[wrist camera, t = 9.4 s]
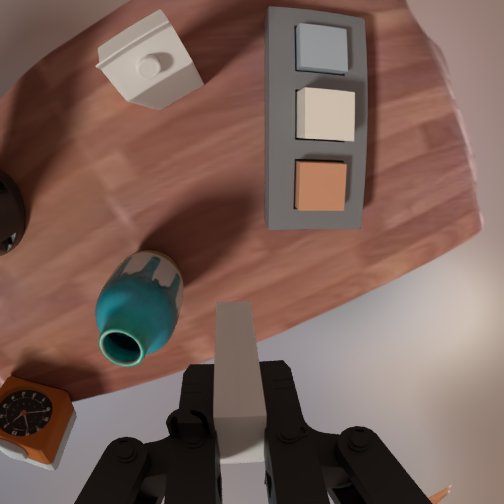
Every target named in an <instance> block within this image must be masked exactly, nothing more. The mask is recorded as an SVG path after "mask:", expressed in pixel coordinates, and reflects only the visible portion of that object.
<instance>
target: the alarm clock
mask: <svg viewBox="0 0 504 504" xmlns="http://www.w3.org/2000/svg"><path fill="white" fill-rule="evenodd" d="M75 420H76V412H75V410H74V407H73V405H72V402H71V399H70V397H69V394H68V393H67V392H66V391H64V390H61V389H57V388H53V387H49V386H45V385H41V384H38V383H34V382H30V381H27V380H24V379H20V378H17V377H14V376H10V377H8V378H7V379H6V381H5V382H4V384H3V385H2V387H1V388H0V451H2V452H3V453H5V454H6V455H7V456H9V457H11V458H13V459H16V460H23V461H26V462H28V463H31V464H34V465H36V466H39V467H42V468H45V469H48V470H51V471H52V470H56V469H57V468H58V466H59V463H60V460H61V457H62V454H63V451H64V449H65V446H66V443H67V441H68V438H69V435H70V433H71V430H72V428H73V425H74V422H75Z"/></svg>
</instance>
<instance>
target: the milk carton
mask: <svg viewBox="0 0 504 504" xmlns="http://www.w3.org/2000/svg"><path fill="white" fill-rule="evenodd" d="M98 54H99V62H100V63H99V64H97V65H96V67H97V68H99V69H101V70H102V71H103V73H104V74H105V75H106V76H107V78H108V79H109V80H110V81H111V82H112V84H113V85H114V86H115V87H116V89H117V90H118V91H119V92H120V94H121V95H122V96H123V97H124V98H125V100H126V101H128V102H132V103H135V104H139V105H142V106H146V107H149V108H152V109H156V110H162V109H164V108H165V107H167V106H169V105H170V104H172V103H174V102H175V101H177V100H179V99H181V98H182V97H184V96H186V95H188V94H189V93H191V92H193V91H195V90H197V89H198V88H200V87H202V86H203V85H204V83H203V81H202V79H201V77H200V75H199V73H198V71H197V69H196V67H195V65H194V63H193V61H192V59H191V58H190V56H189V54H188V52H187V51H186V49H185V47H184V46H183V44H182V42H181V40H180V39H179V37H178V35H177V34H176V32H175V30H174V29H173V27H172V25H171V23H170V22H169V20H168V19H167V18H166V16H165V15H164V13H163V12H162V10H161V9H160V10H158V11H156V12H154V13H152V14H151V15H149V16H147V17H145V18H144V19H142V20H140V21H139V22H137V23H135V24H134V25H132V26H130V27H129V28H127V29H126V30H124V31H122V32H121V33H119V34H118V35H116V36H115V37H113V38H112V39H110V40H109V41H107V42H106V43H104V44H103V45H101V46H100V47H99V48H98Z"/></svg>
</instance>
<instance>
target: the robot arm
mask: <svg viewBox="0 0 504 504" xmlns="http://www.w3.org/2000/svg"><path fill="white" fill-rule="evenodd" d="M24 228H25V209H24V204H23V200H22V197H21V194H20V192H19V189H18V188H17V186H16V184H15V183H14V181H13V180H12V179H11V178H10V177H9V176H8V175H7V174H5V173H3V172H1V171H0V256H2V255H4V254H6V253H8V252H9V251H11V250H12V249H14V248H15V247H16V246H17V245H18V243H19V242H20V240H21V238H22V235H23V232H24ZM166 425H167V428H168V431H169V434H170V435H169V436H168V437H166V438H164V439H162V440H159V441H155V442H150V443H145V444H143V443H142V442H141V441H139V440H137V439H135V438H132V437H123V438H118V439H116V440H114V441H112V442H111V443H110V444H109V445H108V446H107V448H106V450H105V451H104V453H103V455H102V456H101V459H100V460H99V461H98V463H97V465H96V467H95V468H94V470H93V472H92V473H91V475H90V477H89V479H88V480H87V482H86V484H85V486H84V487H83V489H82V491H81V493H80V494H79V496H78V498H77V500H76V501H75V503H74V504H161V503H162V500H163V498H164V496H165V501H164V504H222V477H221V471H220V463H248V462H264V460H265V468H266V470H265V484H266V486H267V494H268V502H269V504H330V502H329V498H328V494H327V492H328V493H329V495H330V497H331V498H332V500H333V502H334V503H335V504H432V503H431V501H430V500H429V499H428V498H427V497H426V495H425V494H424V493H423V492H422V490H421V489H420V488H419V487H418V485H417V484H416V483H415V482H414V480H413V479H412V478H411V477H410V476H409V474H408V473H407V472H406V470H405V469H404V468H403V467H402V466H401V464H400V463H399V462H398V461H397V459H396V458H395V457H394V456H393V454H392V453H391V452H390V450H389V449H388V448H387V447H386V445H385V444H384V443H383V442H382V441H381V439H380V438H379V437H378V435H377V434H376V433H374V432H373V431H372V430H371V429H368V428H366V427H360V426H355V427H350V428H347V429H346V430H344V431H343V432H342V433H341V434H340V435H339V434H329V433H323V432H318V431H316V430H314V429H312V428H311V427H309V426H308V425H307V423H306V422H305V420H304V418H303V415H302V412H301V407H300V403H299V400H298V395H297V391H296V389H295V384H294V381H293V376H292V372H291V368H290V367H289V366H288V365H287V364H286V363H285V362H284V361H283V360H279V361H263V362H259V359H258V352H257V345H256V338H255V331H254V324H253V317H252V310H251V302H250V301H247V302H217V309H216V334H215V363H214V364H190V365H189V367H188V368H187V369H186V371H185V372H184V374H183V381H182V389H181V397H180V403H179V409H177V410H175V411H173V412H172V413H171V414H170V415H169V416H168V418H167V421H166Z"/></svg>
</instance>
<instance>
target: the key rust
mask: <svg viewBox="0 0 504 504" xmlns="http://www.w3.org/2000/svg"><path fill="white" fill-rule="evenodd" d="M346 169H347V164H344V163H341V162H338V161H334V160H319V159H295V168H294V206H295V207H296V208H297V209H298V210H299V211H344V203H345V188H346Z"/></svg>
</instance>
